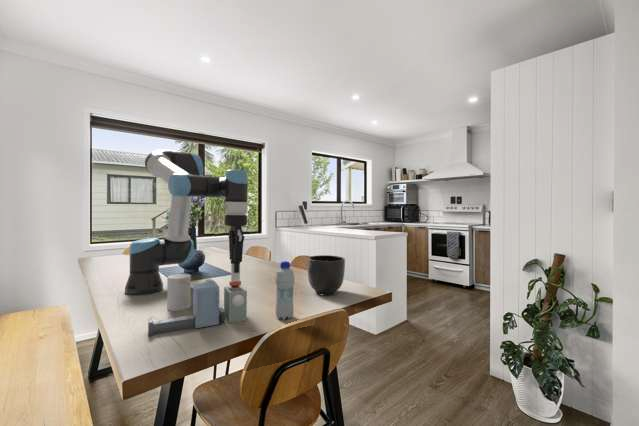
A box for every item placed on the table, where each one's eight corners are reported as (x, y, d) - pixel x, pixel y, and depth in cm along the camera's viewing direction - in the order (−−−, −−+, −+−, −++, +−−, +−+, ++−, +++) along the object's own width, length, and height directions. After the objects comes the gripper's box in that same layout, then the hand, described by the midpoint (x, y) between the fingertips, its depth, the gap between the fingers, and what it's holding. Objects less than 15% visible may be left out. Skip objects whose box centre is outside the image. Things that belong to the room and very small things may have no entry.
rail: (148, 330, 96) (148, 317, 96) (222, 318, 107) (222, 307, 107) (148, 336, 91) (148, 322, 91) (225, 323, 102) (225, 311, 102)
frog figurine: (215, 295, 134) (215, 279, 134) (198, 297, 131) (198, 281, 131) (213, 292, 139) (214, 276, 139) (197, 293, 136) (197, 278, 136)
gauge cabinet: (223, 314, 110) (224, 287, 110) (240, 312, 113) (240, 285, 113) (229, 322, 103) (229, 293, 103) (246, 319, 106) (247, 291, 106)
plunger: (228, 303, 109) (228, 281, 109) (239, 302, 111) (239, 280, 111) (230, 306, 106) (230, 283, 105) (242, 305, 107) (242, 282, 107)
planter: (352, 294, 139) (352, 259, 139) (320, 300, 129) (321, 262, 129) (329, 286, 153) (330, 254, 153) (300, 291, 143) (300, 256, 143)
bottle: (275, 314, 112) (276, 259, 111) (293, 314, 112) (294, 259, 112) (274, 321, 105) (275, 263, 105) (293, 320, 106) (294, 263, 105)
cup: (181, 311, 113) (181, 279, 113) (162, 309, 115) (162, 277, 114) (194, 304, 121) (195, 274, 121) (176, 303, 123) (176, 273, 122)
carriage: (192, 320, 104) (193, 283, 103) (214, 317, 107) (214, 281, 107) (196, 329, 96) (196, 289, 96) (219, 325, 100) (219, 286, 100)
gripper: (221, 213, 111) (220, 278, 112) (229, 214, 100) (228, 286, 100) (242, 213, 115) (241, 276, 116) (252, 214, 104) (251, 284, 104)
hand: (235, 281), depth 108 cm, fingers closed
